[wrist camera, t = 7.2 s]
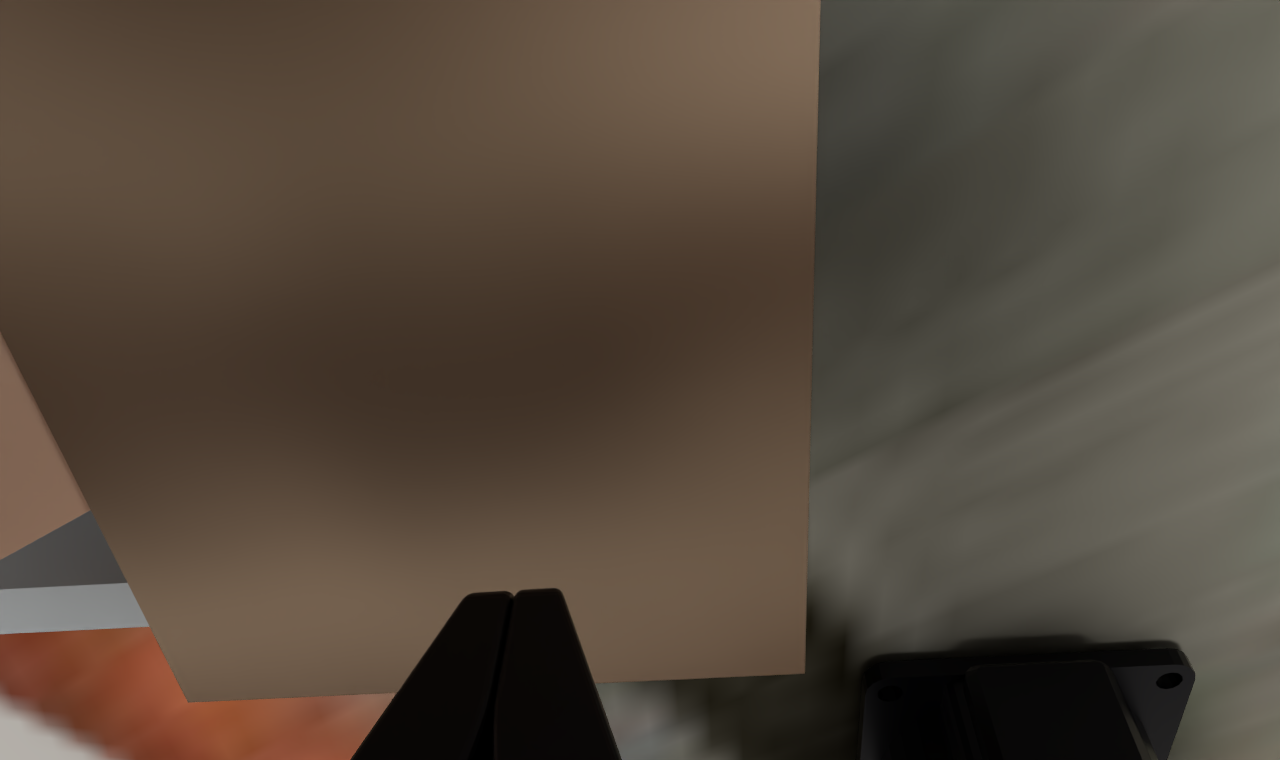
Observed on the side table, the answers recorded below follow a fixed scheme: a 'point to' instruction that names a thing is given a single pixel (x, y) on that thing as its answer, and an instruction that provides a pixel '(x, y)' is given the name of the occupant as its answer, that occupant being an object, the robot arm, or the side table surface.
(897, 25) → the side table surface
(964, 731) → the robot arm
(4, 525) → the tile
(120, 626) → the tray
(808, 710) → the side table surface
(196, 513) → the stepped beige slab
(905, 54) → the side table surface
